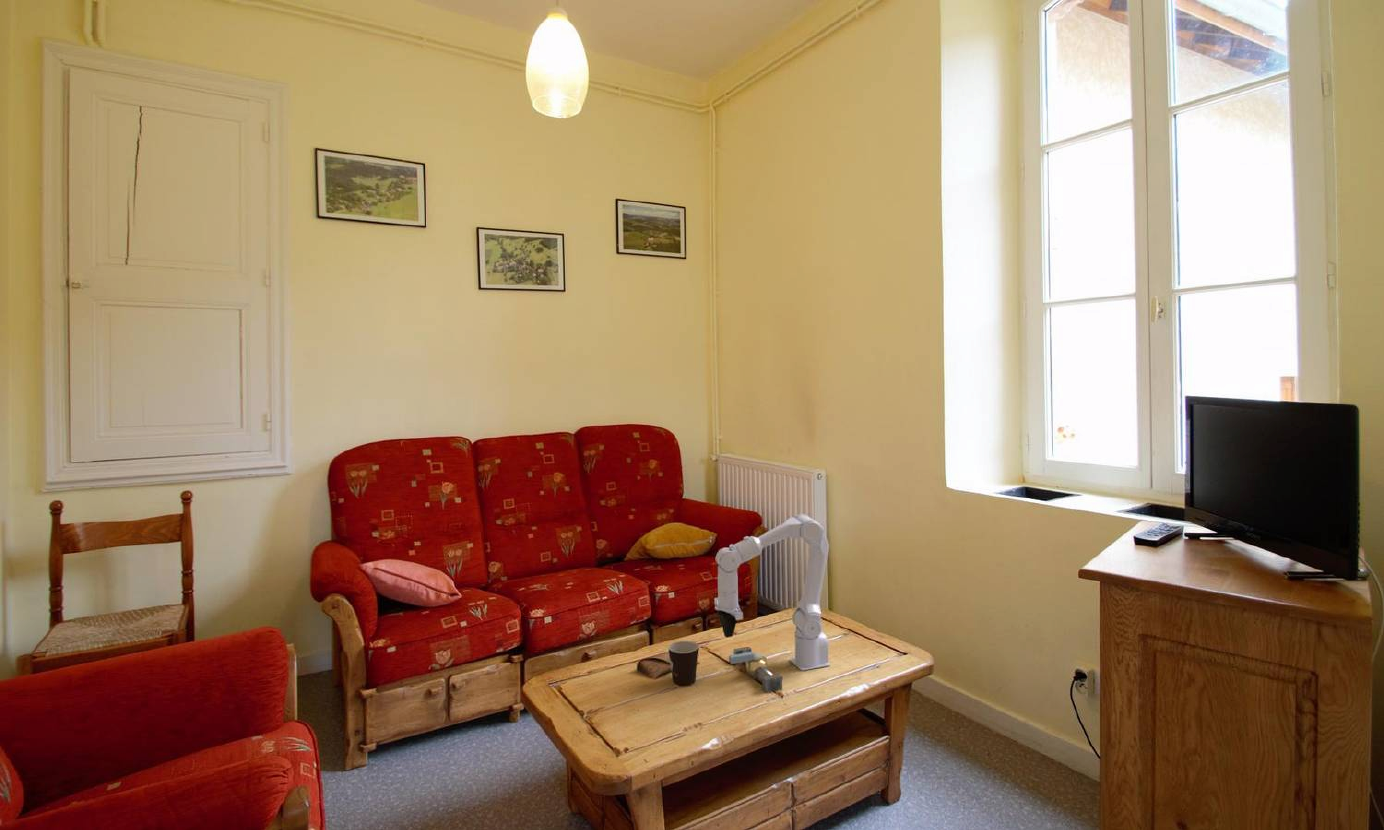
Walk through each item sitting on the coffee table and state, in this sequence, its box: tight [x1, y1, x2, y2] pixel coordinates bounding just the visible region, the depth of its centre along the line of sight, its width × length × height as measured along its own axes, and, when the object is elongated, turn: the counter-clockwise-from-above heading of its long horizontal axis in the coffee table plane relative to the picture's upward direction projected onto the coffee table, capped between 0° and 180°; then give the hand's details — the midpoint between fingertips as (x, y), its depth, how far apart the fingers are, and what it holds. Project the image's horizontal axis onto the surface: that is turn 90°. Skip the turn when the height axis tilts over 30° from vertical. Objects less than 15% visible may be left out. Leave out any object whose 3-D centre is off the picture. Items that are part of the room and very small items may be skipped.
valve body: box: [733, 646, 783, 694], centre depth 193 cm, size 22×6×4 cm, turn 20°
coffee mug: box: [667, 640, 700, 688], centre depth 191 cm, size 12×9×10 cm
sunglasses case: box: [636, 650, 700, 681], centre depth 200 cm, size 18×7×7 cm, turn 129°
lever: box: [728, 651, 763, 665], centre depth 192 cm, size 10×3×2 cm, turn 109°
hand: (728, 636), depth 195 cm, fingers closed
